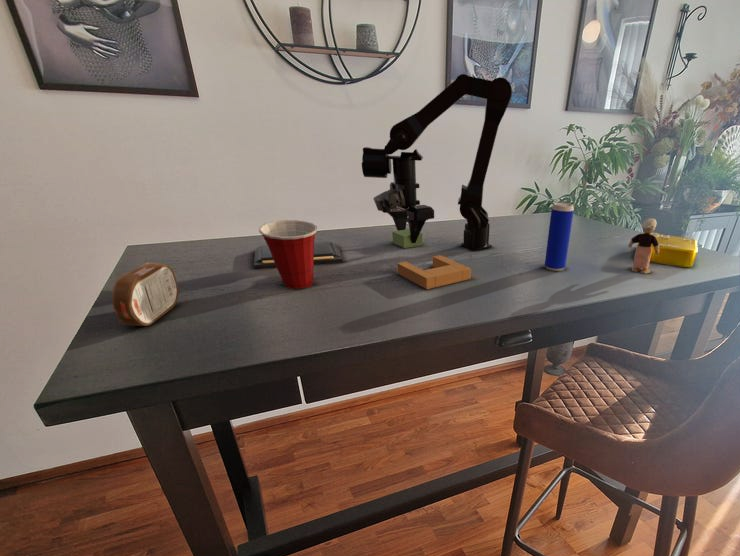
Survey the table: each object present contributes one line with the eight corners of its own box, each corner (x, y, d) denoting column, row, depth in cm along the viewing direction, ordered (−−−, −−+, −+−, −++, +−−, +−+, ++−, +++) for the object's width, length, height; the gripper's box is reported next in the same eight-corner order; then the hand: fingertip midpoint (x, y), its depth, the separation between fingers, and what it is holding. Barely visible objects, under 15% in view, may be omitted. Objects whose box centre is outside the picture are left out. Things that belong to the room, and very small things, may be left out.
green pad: (411, 240, 126) (410, 228, 124) (422, 245, 122) (422, 233, 121) (392, 243, 123) (392, 231, 121) (404, 248, 119) (403, 236, 117)
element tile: (633, 260, 119) (637, 242, 116) (638, 246, 131) (642, 230, 128) (692, 268, 115) (698, 250, 112) (692, 254, 126) (697, 237, 124)
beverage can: (564, 265, 112) (573, 203, 104) (565, 272, 108) (575, 207, 100) (544, 264, 113) (551, 201, 104) (544, 270, 108) (552, 205, 100)
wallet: (336, 238, 117) (342, 255, 105) (337, 245, 118) (343, 263, 106) (254, 242, 111) (250, 260, 99) (256, 250, 112) (252, 268, 100)
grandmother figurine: (654, 271, 112) (668, 219, 105) (653, 275, 109) (666, 222, 102) (624, 266, 114) (635, 214, 107) (621, 270, 111) (633, 217, 104)
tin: (169, 299, 84) (153, 255, 79) (187, 299, 84) (172, 255, 79) (122, 335, 71) (100, 285, 67) (143, 335, 71) (122, 285, 67)
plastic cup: (274, 297, 87) (260, 235, 81) (268, 279, 95) (255, 221, 88) (330, 289, 91) (321, 230, 85) (320, 273, 99) (311, 218, 93)
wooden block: (440, 265, 108) (440, 254, 107) (470, 279, 101) (470, 268, 99) (397, 273, 102) (397, 263, 100) (426, 289, 94) (426, 278, 93)
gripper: (359, 175, 115) (365, 236, 124) (395, 186, 103) (399, 253, 112) (396, 173, 121) (399, 231, 130) (435, 183, 109) (435, 246, 118)
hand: (407, 240), depth 122 cm, fingers closed on green pad, 6 cm apart
